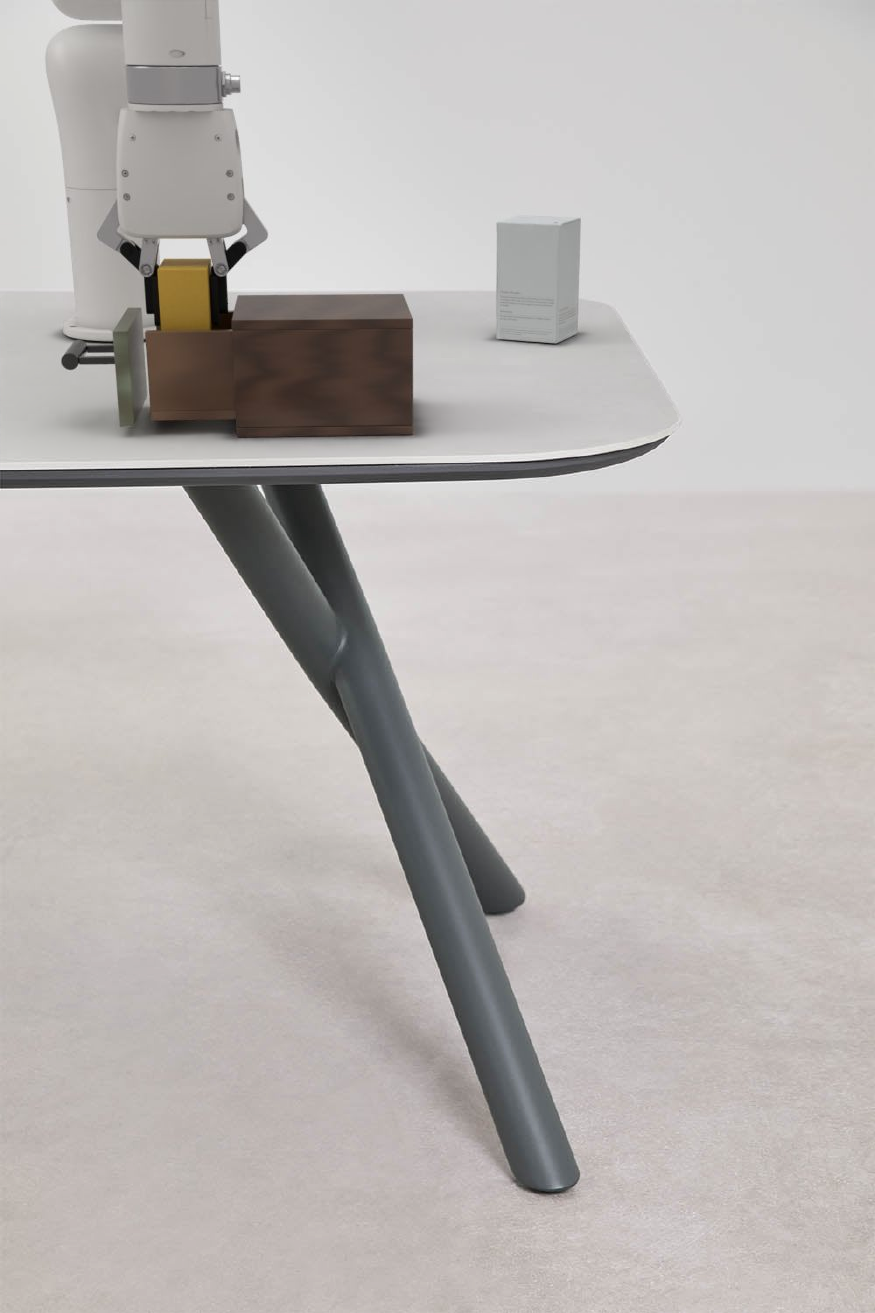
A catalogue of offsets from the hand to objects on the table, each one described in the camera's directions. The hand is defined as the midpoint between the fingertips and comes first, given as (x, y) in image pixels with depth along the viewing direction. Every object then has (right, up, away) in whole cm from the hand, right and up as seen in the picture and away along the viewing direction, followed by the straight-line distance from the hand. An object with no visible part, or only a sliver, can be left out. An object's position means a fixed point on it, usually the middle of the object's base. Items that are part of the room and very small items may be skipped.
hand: (188, 320), depth 126 cm
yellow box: (0, 0, 0) cm, 0 cm away
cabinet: (+11, -8, +4) cm, 14 cm away
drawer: (-1, -7, +3) cm, 8 cm away
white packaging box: (+32, +7, +40) cm, 52 cm away
